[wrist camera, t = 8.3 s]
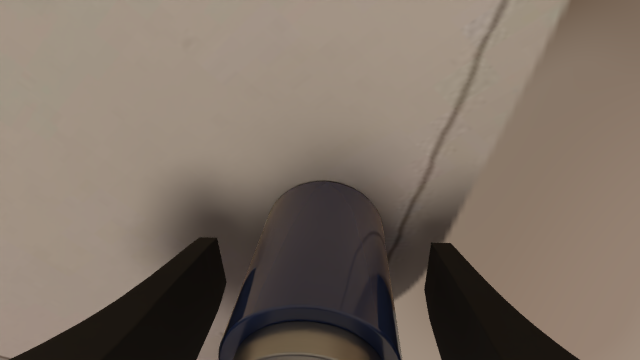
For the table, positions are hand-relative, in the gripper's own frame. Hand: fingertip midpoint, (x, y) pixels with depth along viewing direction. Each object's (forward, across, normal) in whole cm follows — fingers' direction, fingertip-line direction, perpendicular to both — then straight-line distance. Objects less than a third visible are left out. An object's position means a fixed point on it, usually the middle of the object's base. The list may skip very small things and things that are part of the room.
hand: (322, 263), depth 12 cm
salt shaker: (+2, 0, 0) cm, 2 cm away
